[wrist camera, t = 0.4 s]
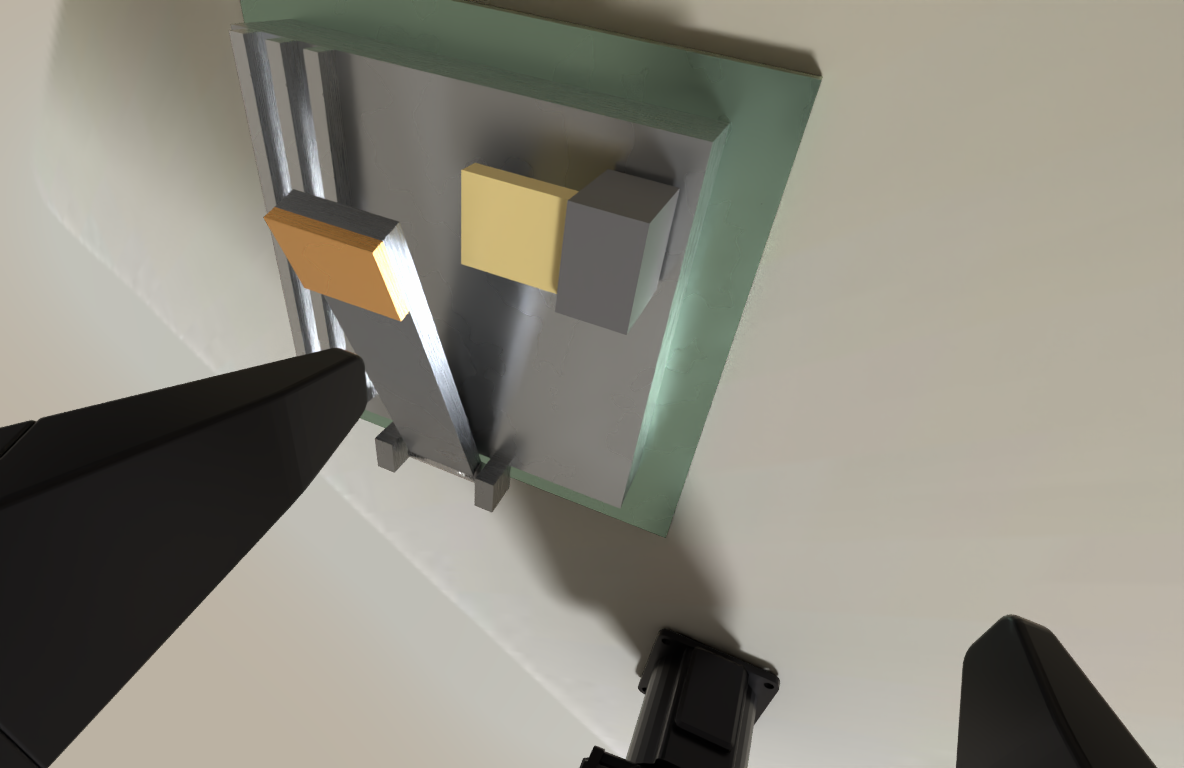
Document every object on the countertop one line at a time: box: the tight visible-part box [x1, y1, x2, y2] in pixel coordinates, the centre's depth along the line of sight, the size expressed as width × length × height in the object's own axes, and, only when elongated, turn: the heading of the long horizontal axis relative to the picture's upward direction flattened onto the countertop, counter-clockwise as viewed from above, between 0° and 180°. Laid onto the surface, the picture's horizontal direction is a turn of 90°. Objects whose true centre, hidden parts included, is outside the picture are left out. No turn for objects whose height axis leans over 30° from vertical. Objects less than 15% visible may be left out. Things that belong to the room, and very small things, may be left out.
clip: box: [461, 163, 680, 335], centre depth 16 cm, size 3×5×3 cm, turn 82°
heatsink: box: [229, 0, 822, 538], centre depth 22 cm, size 19×19×4 cm
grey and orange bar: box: [263, 189, 486, 483], centre depth 19 cm, size 14×3×1 cm, turn 172°
